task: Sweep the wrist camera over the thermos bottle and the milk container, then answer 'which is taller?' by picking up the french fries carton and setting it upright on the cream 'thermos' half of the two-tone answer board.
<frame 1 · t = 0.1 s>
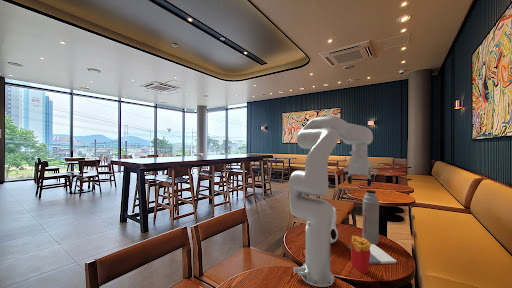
hand: (359, 184, 116), 31 cm above the table, tool pointing down, fingers open, 9 cm apart
answer board: (369, 254, 103), on the table
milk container: (321, 240, 118), on the table
french fries: (360, 269, 91), on the table
thermos bottle: (370, 241, 118), on the table
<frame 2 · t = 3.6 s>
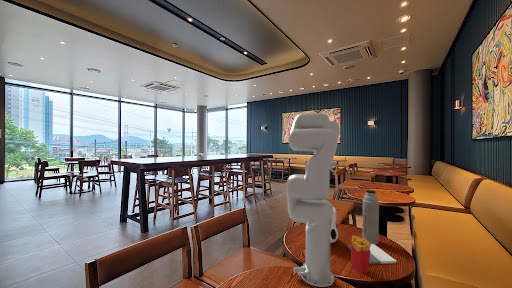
hand: (322, 179, 118), 34 cm above the table, tool pointing down, fingers open, 9 cm apart
nothing on the table moved.
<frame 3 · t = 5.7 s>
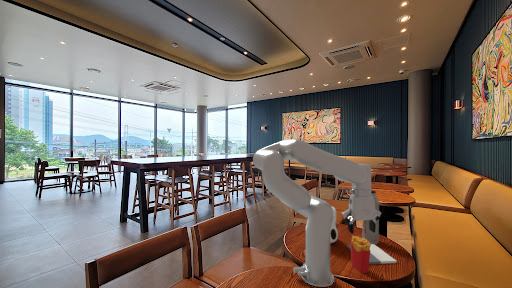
hand: (361, 231, 91), 16 cm above the table, tool pointing down, fingers open, 9 cm apart
nothing on the table moved.
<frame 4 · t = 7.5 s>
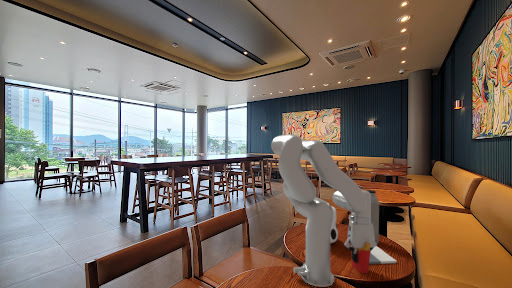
hand: (360, 261, 91), 3 cm above the table, tool pointing down, fingers closed on french fries, 4 cm apart
french fries: (360, 269, 91), on the table, touching gripper
everything else where it was.
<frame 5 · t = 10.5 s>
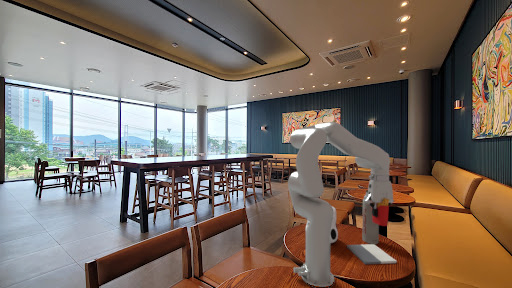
hand: (379, 215, 101), 20 cm above the table, tool pointing down, fingers closed on french fries, 4 cm apart
french fries: (380, 223, 101), point 16 cm above the table, touching gripper
everything else where it was.
when the fingers open (5 cm above the table, at t = 13.6 s): french fries stays where it is, resting on answer board.
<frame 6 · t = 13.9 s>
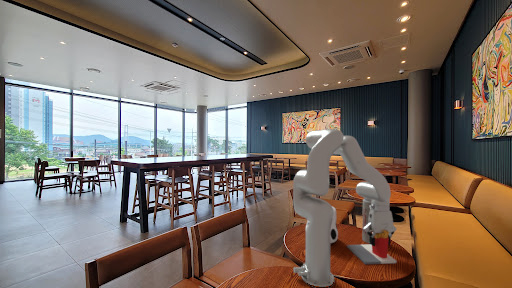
hand: (379, 244, 101), 6 cm above the table, tool pointing down, fingers open, 7 cm apart
french fries: (379, 254, 101), point 1 cm above the table, touching answer board
everything else where it was.
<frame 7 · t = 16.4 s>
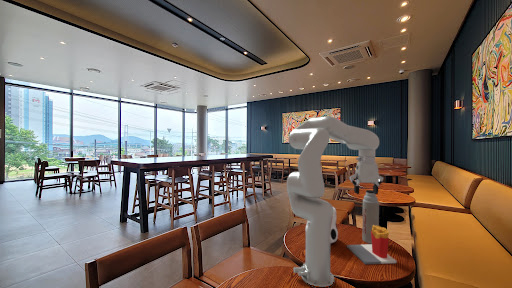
hand: (366, 193, 107), 29 cm above the table, tool pointing down, fingers open, 9 cm apart
nothing on the table moved.
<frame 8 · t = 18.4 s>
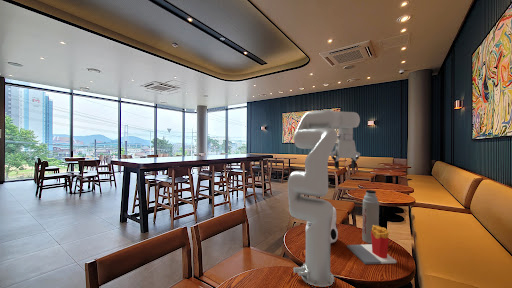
hand: (345, 168, 119), 40 cm above the table, tool pointing down, fingers open, 9 cm apart
nothing on the table moved.
at the end: french fries inside the target area on the answer board (2.4 cm from its centre), point 0.8 cm above the answer board's base; french fries tilted 0°; the gripper is holding nothing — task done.
